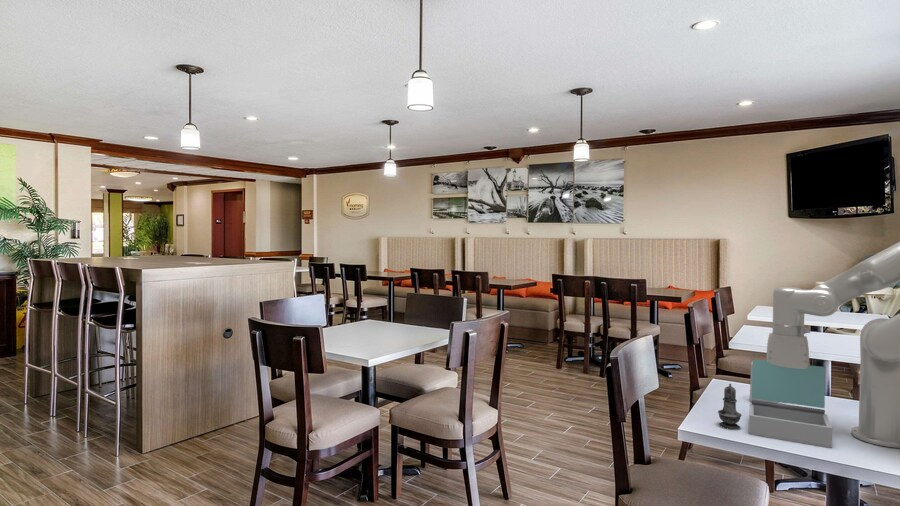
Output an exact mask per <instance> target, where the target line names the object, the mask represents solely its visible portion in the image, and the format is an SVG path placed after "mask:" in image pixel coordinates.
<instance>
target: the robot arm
mask: <svg viewBox="0 0 900 506" xmlns="http://www.w3.org/2000/svg"><path fill="white" fill-rule="evenodd" d="M898 283H900V241H898V242H897V243H896V242H895V243H894V244H893V245H891V246H889V247H887V248H885V249H883V250H882V251H879V252H877V253H876V254H874V255H872V256H869V257H868V258H866V259H864V260H861V262H859V263H857V264H855V265H853V266H852V267H850V268H848V269H847V270H845V271H843V272H841V273H839V274H837V275H836V276H833V277H831V278H830V279H828V280H826V281H824V282H822V283H820V284H819V285H816V286H814V287H813V288H811V289H802V288H800V287H794V286H779V287H775V288H774V290H773V292H772V293H773V294H772V296H773V298H772V299H773V300H772V332H769V334H768V339H767V344H766V355H765V356H766V357H765V361H768V362H769V363H771V364H773V365H777V366H781V367H787V368H796V369H807V368H808V365H810V349H809V341H808V336H807V335H806V334H811V328H809V327H806V326H805V315H810V316H816V317H829V316H832V315H834V314H835V313H836V312H837V311H838V309H839V308H840V306H842V305H844V304H846V303H848V302H850V301H852V300H854V299H856V298H860V297H861V296H863V295H866V294H869V293H872V292H877V291H882V290H884V289H888V288H889V287H892V286H894V285H896V284H898ZM859 336H860V337H859V347H860V353H859V355H860V356H859V357H860V360H859V361H860V365H859V367H860V371H859V372H860V373H859V374H860V375H859V398H858V399H859V400H858V401H859V403H858V405H859V406H858V407H859V408H858V426H854V427H852V428H850V429H851V430H850V433H851V435H852V436H853V437H854V438H856V439H859V440H860V441H863V442H866V443H869V444H874V445H878V446H882V447H887V448H895V449H900V313H898V314H895V315H894V316H892V317H890V318H882V317H881V318H874V319H872V320H870V321H868V322H866V324H864V325H863V327H862V329H861V331H860V335H859Z"/></svg>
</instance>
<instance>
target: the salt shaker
mask: <svg viewBox="0 0 900 506" xmlns="http://www.w3.org/2000/svg"><path fill="white" fill-rule="evenodd" d="M723 391H724V397H723V398H722V401H723V407H722V409H720V410H718V411H717V413H718V417H719V420H721V422H719V423H718V426H719V425H720V426H719V427H721V426H722V427H721V428H723V427H724V429H727V428H728V430H740V429H741V427H740V425H739V424H738V423H739V422H740V420H741V417H742V413H740V412H738V411H737V409H736V408H737V407H736V404H737V402H738V400H737V399H736V398H737V397H736V396H737V395H736V392H737V389H736V388H734V387H733V386H732V384H731V383H729V384H728V386H726V387H724V390H723ZM739 428H740V429H739Z"/></svg>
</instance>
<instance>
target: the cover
mask: <svg viewBox="0 0 900 506" xmlns="http://www.w3.org/2000/svg"><path fill="white" fill-rule="evenodd" d="M752 362H753V367H752V398H754V399H761V400H768V401H776V402H779V403H773V402H765V401H758V400H752V402H751V404H756V405H763V406H770V407H777V408H784V409H791V410H798V411H804V412H811V413H818V414H826V410H825V408H826V407H825V405H826V403H825V402H826V401H825V400H826V399H825V398H826V397H825V395H826V392H825V389H826V386H825V385H826V384H825V383H826V382H825V381H826V380H825V378H826V376H825V373H826V371H825V370H826V369H825V368H826V367H825V366H819V365H812V364H811V365H810V364H809V365H808V368H807V369H796V368H787V367H781V366H777V365H773V364H771V363H769V362H768V361H766V360H764V359H763V360H761V359H755V358H754V359H752Z"/></svg>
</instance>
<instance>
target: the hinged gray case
mask: <svg viewBox="0 0 900 506" xmlns="http://www.w3.org/2000/svg"><path fill="white" fill-rule="evenodd" d="M748 434H749V435H753V436H754V435H755V436H758V437H763V438H764V437H765V438H771V439H777V440H782V441H789V442H794V443H800V444H807V445H812V446H819V447H824V448H830V449H831V448H833V446H832V445H833V427H832V424H831V422H830V420H829V417H828V415H827V414H826V413H825V414H818V413H811V412H804V411H798V410H791V409H784V408H777V407H770V406H763V405H756V404H752V402H750V403H749V415H748Z"/></svg>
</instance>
